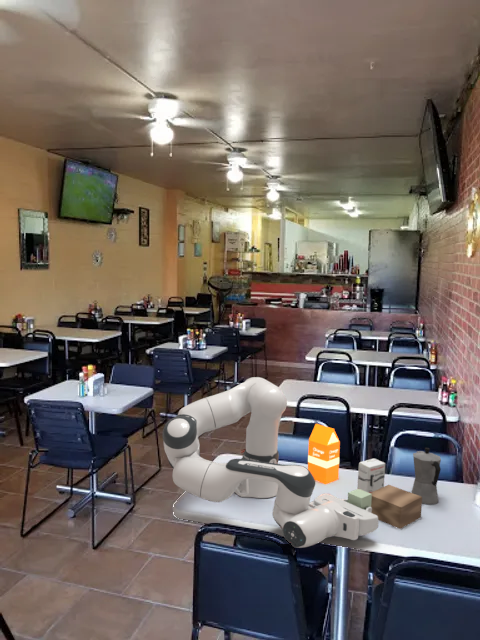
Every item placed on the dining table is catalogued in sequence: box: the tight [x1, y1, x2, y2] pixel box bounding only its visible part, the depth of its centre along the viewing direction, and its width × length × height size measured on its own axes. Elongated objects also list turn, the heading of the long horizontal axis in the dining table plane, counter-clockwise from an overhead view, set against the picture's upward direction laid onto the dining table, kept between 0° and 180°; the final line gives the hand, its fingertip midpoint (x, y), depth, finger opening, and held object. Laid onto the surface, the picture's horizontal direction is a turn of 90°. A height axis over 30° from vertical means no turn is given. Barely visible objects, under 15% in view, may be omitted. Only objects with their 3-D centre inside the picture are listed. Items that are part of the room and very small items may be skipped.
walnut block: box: [370, 484, 423, 530], centre depth 161 cm, size 12×12×7 cm
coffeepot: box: [411, 447, 442, 506], centre depth 172 cm, size 15×9×18 cm, turn 6°
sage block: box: [347, 488, 372, 510], centre depth 154 cm, size 5×5×10 cm
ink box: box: [356, 458, 386, 493], centre depth 176 cm, size 8×5×12 cm, turn 123°
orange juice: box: [307, 423, 341, 485], centre depth 189 cm, size 8×9×20 cm
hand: (361, 505), depth 154 cm, fingers closed on sage block, 5 cm apart
